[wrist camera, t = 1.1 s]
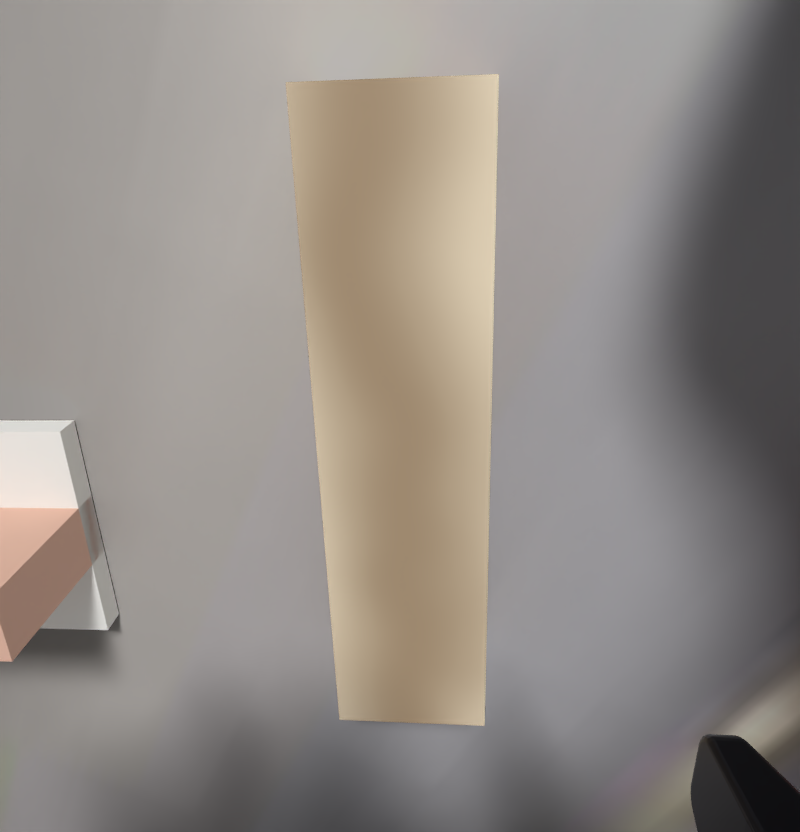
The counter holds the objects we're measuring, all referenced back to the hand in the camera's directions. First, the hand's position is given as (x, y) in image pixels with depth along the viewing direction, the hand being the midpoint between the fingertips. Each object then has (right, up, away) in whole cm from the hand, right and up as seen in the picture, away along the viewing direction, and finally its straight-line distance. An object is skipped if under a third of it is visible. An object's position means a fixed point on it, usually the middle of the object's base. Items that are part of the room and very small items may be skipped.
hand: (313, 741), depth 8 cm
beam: (+1, +4, +11) cm, 12 cm away
